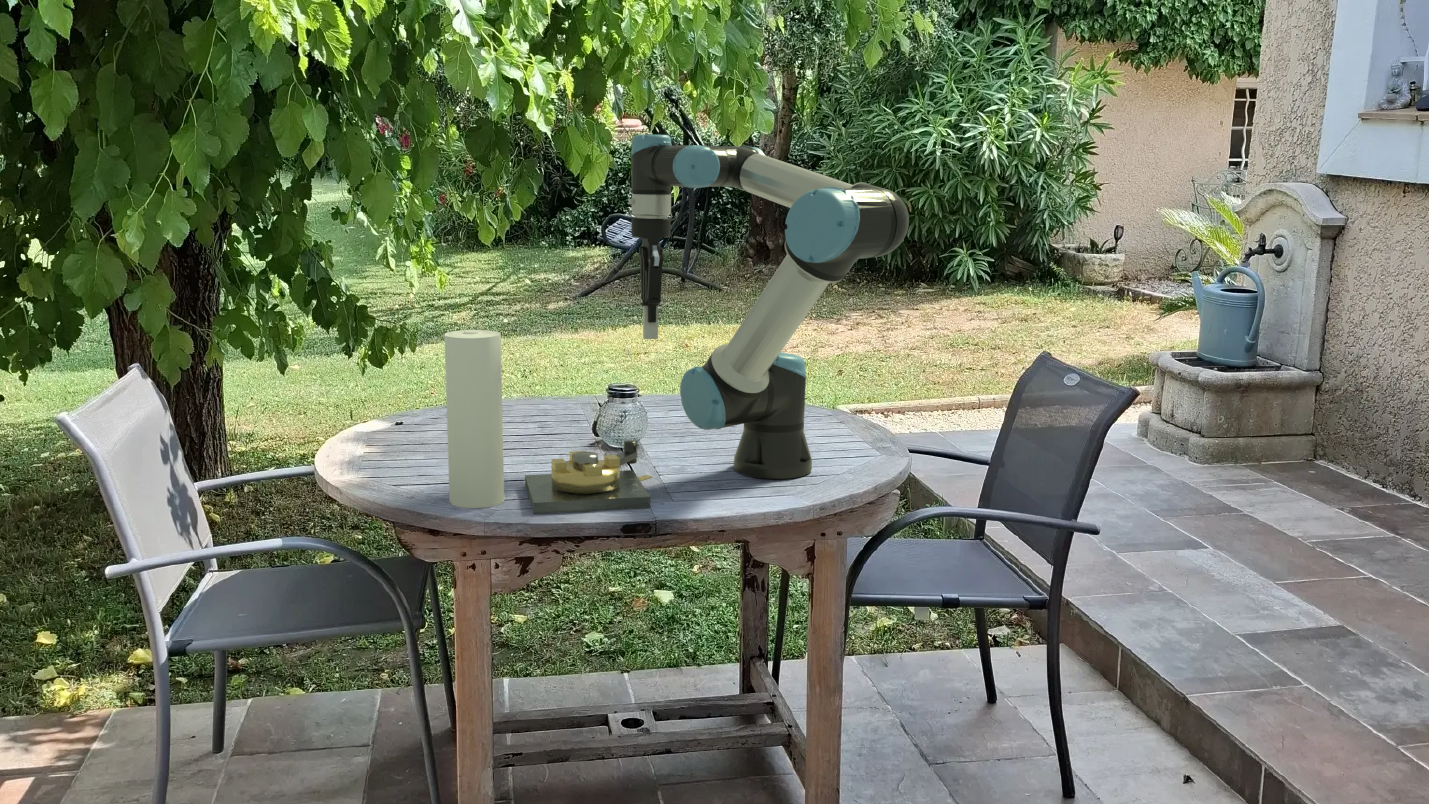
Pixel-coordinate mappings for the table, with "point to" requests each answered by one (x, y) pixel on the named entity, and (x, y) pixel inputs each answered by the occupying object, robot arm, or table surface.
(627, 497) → the collar plate
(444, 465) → the table surface
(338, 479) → the table surface
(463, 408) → the cylinder container
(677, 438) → the table surface
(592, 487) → the ring nut
